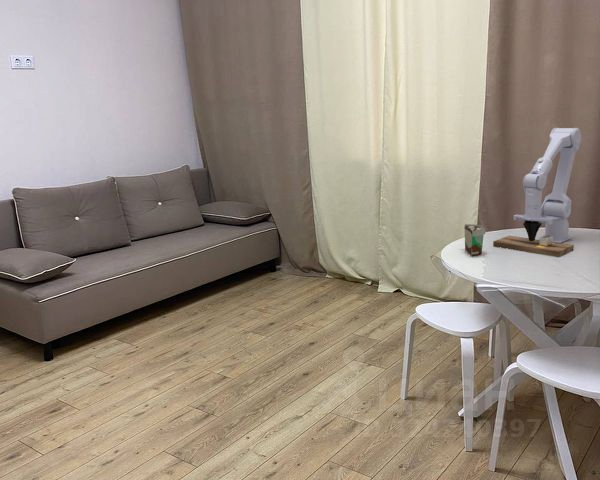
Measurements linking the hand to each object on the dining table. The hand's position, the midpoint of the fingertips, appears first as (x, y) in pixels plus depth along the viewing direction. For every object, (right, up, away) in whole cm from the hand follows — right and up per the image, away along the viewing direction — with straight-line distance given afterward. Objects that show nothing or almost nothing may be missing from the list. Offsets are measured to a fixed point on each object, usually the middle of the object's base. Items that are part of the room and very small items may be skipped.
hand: (531, 240), depth 227 cm
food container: (-22, -5, -1) cm, 22 cm away
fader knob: (+4, -1, -4) cm, 6 cm away
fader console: (0, -3, +1) cm, 3 cm away
